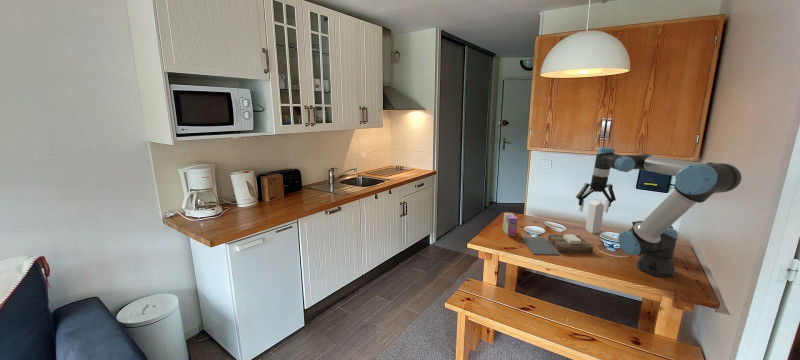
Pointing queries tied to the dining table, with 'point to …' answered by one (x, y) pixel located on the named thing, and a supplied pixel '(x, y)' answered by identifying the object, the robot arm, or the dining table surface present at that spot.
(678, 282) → the dining table surface
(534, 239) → the mat
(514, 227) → the box
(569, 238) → the tile
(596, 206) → the milk
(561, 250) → the deck
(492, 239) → the dining table surface
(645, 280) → the dining table surface
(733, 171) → the robot arm
